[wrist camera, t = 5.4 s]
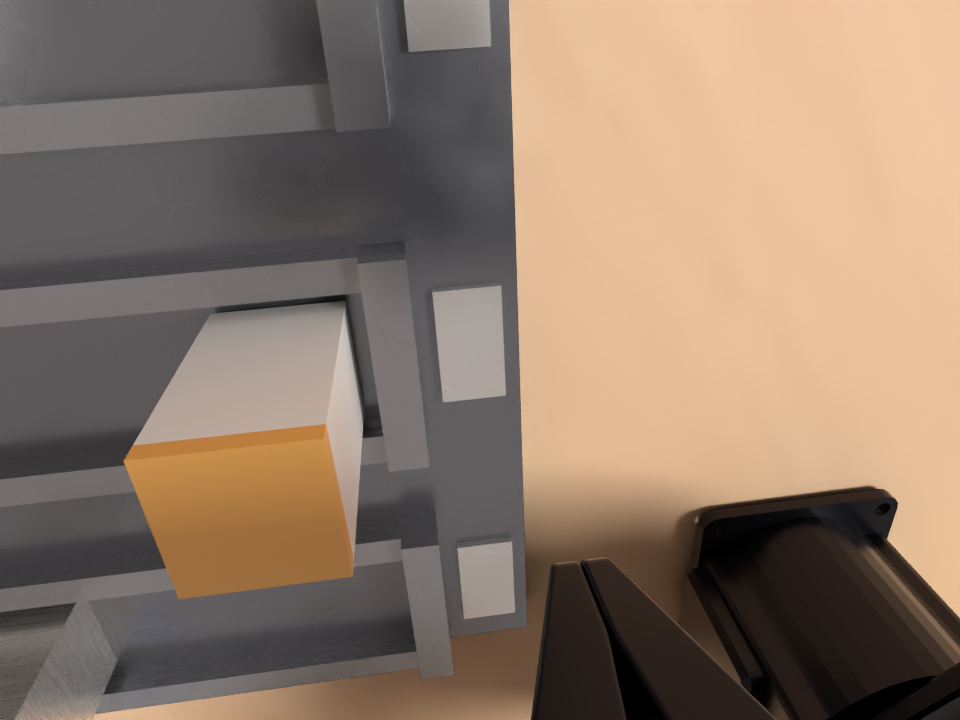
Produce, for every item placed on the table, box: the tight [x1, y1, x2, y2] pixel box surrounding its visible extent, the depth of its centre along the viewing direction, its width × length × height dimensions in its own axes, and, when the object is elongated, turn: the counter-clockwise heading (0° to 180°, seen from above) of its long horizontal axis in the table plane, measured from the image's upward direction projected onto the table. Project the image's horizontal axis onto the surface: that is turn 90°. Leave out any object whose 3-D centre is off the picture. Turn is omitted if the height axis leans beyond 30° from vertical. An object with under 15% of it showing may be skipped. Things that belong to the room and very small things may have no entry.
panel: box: [0, 0, 527, 720], centre depth 13 cm, size 20×21×6 cm
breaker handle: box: [124, 301, 364, 599], centre depth 13 cm, size 3×3×5 cm
